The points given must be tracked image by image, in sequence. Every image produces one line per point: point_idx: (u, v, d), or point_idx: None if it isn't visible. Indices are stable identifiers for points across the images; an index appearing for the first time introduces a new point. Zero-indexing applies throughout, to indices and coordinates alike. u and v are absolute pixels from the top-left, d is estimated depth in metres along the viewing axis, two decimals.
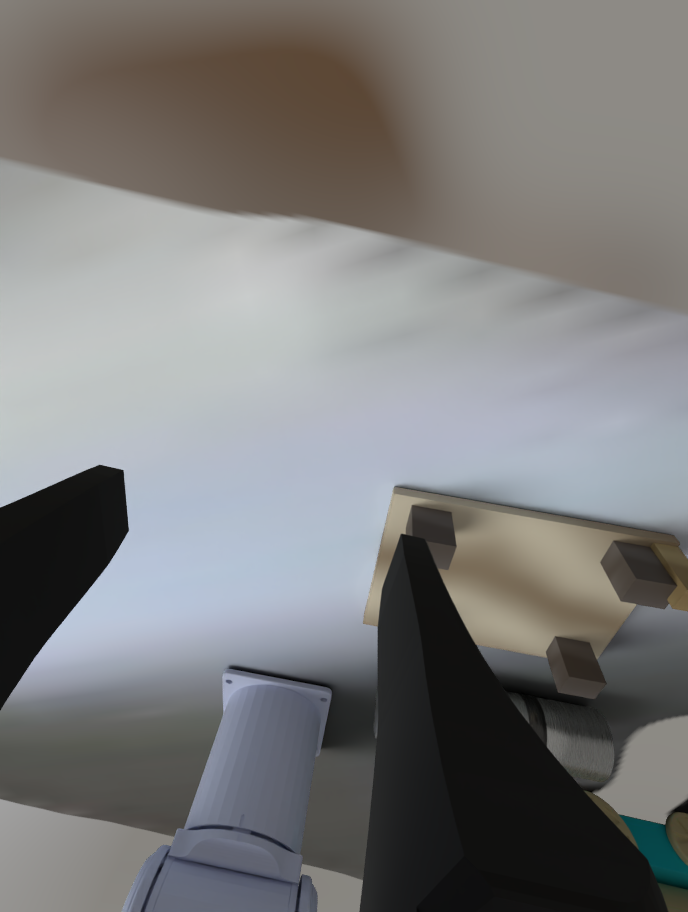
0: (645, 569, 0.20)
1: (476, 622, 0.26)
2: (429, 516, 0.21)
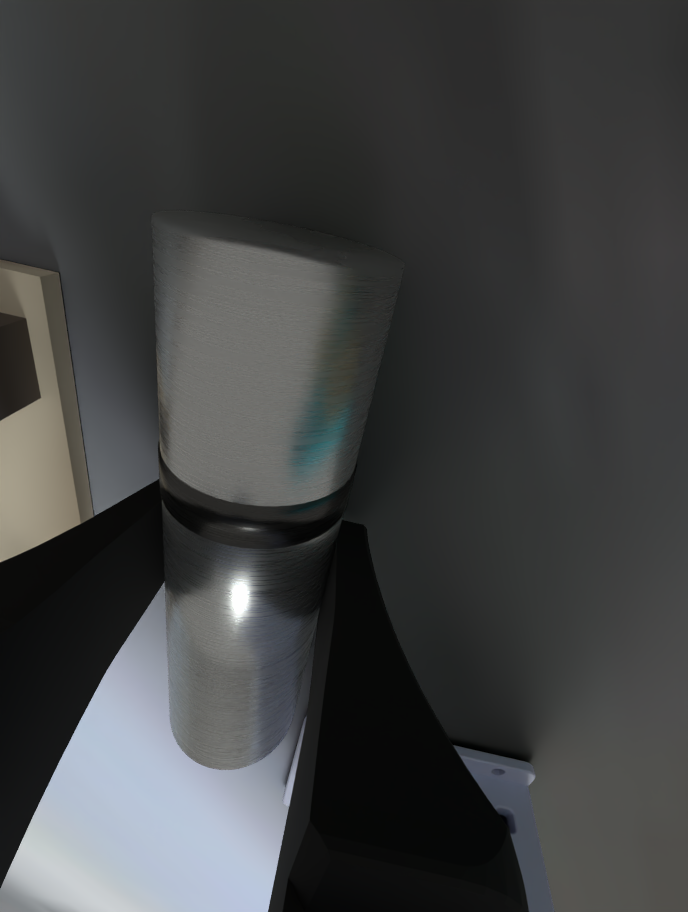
0: None
1: (20, 522, 0.13)
2: None
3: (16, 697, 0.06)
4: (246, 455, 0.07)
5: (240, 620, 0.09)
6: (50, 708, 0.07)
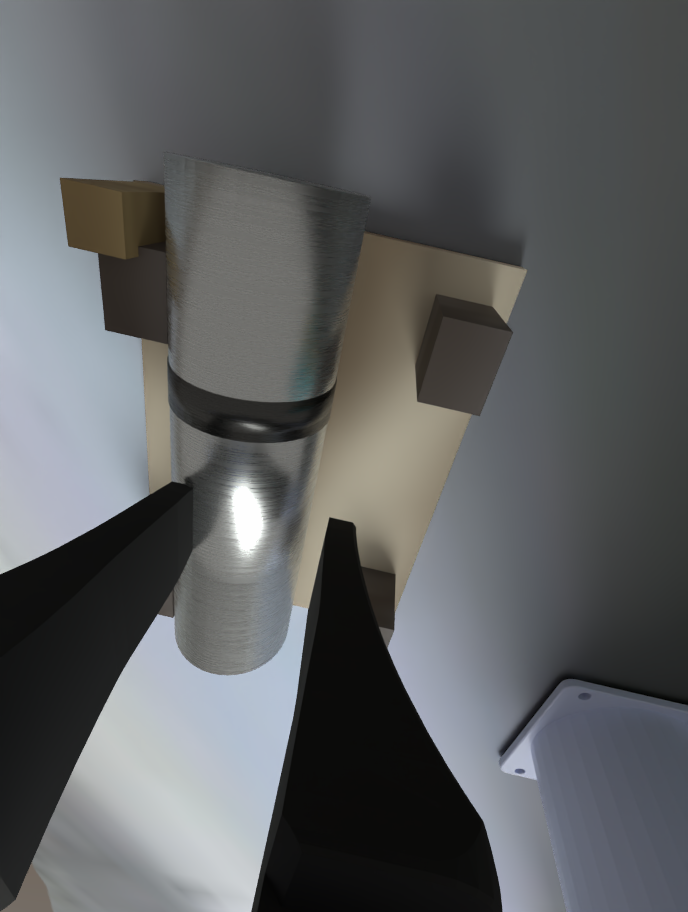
0: None
1: (379, 494, 0.15)
2: None
3: (36, 702, 0.06)
4: None
5: None
6: (68, 712, 0.07)
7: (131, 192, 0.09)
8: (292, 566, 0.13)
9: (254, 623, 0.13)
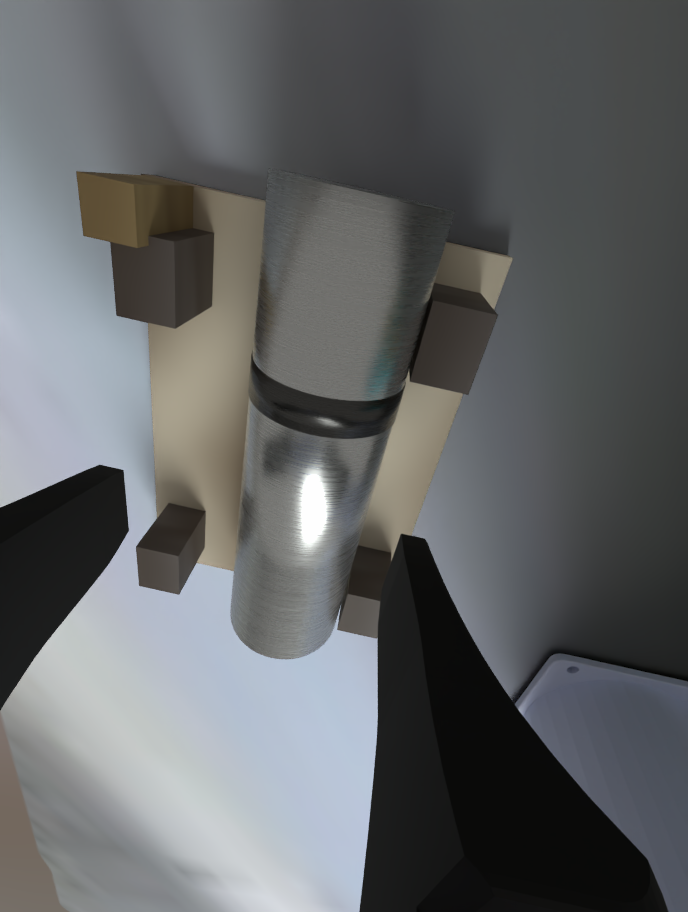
0: None
1: None
2: None
3: None
4: (266, 329, 0.10)
5: (254, 482, 0.12)
6: None
7: (142, 185, 0.09)
8: None
9: None
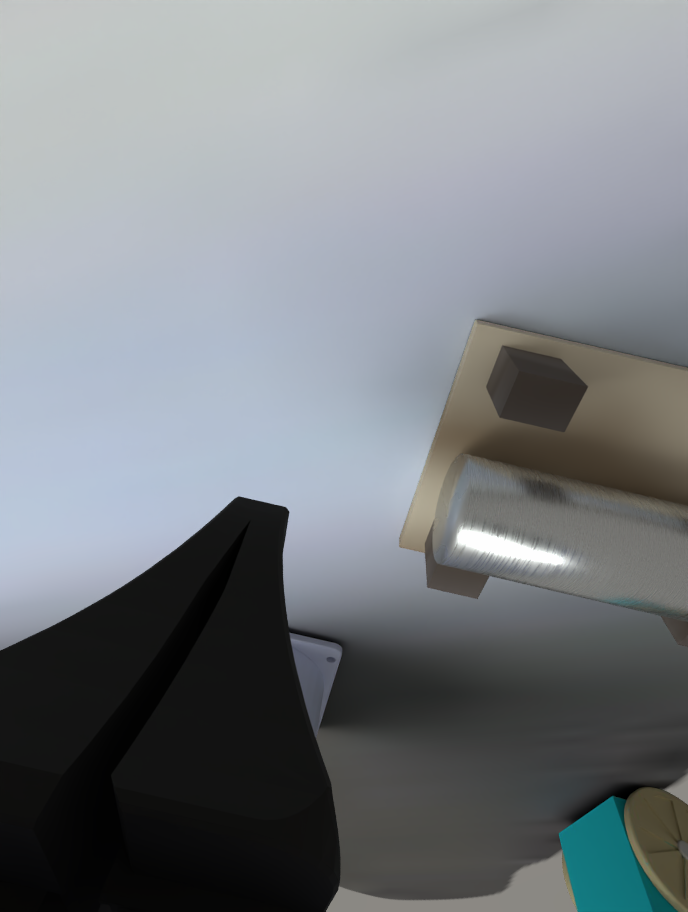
0: None
1: None
2: (532, 357, 0.14)
3: None
4: None
5: (681, 556, 0.14)
6: None
7: None
8: None
9: None
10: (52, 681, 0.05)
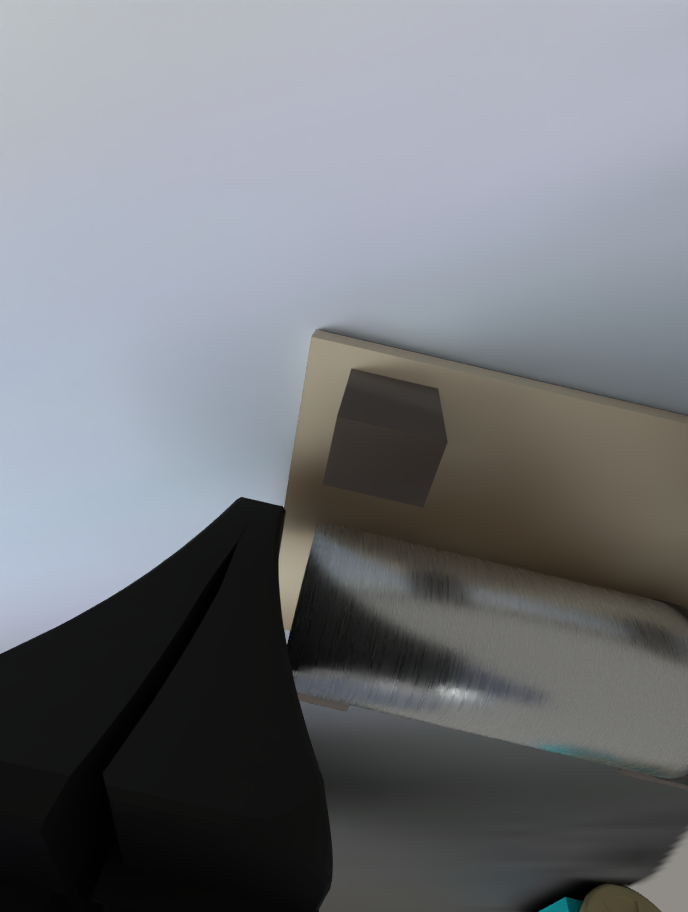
0: None
1: None
2: (387, 388, 0.09)
3: None
4: None
5: (618, 693, 0.09)
6: None
7: None
8: None
9: None
10: (58, 683, 0.05)
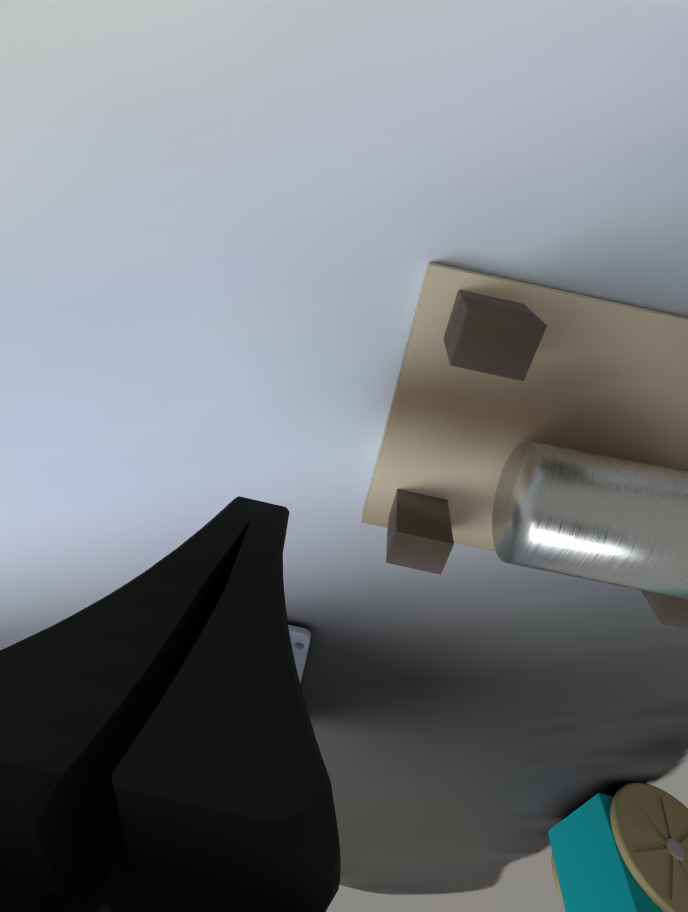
0: None
1: None
2: (490, 300, 0.12)
3: None
4: None
5: None
6: None
7: None
8: None
9: None
10: (53, 682, 0.05)
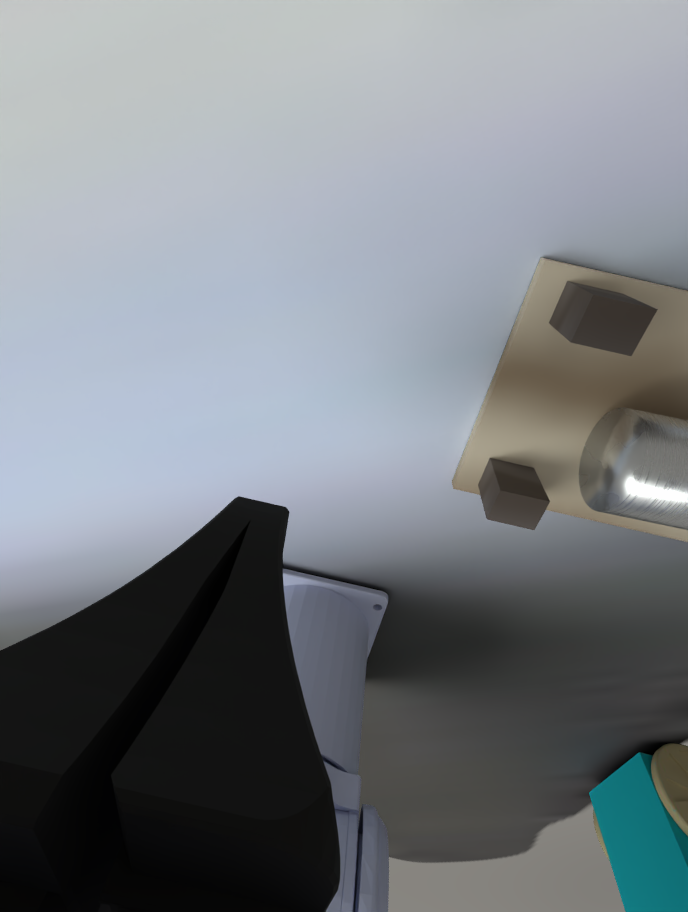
0: None
1: None
2: (598, 289, 0.15)
3: None
4: None
5: None
6: None
7: None
8: None
9: None
10: (53, 682, 0.05)
